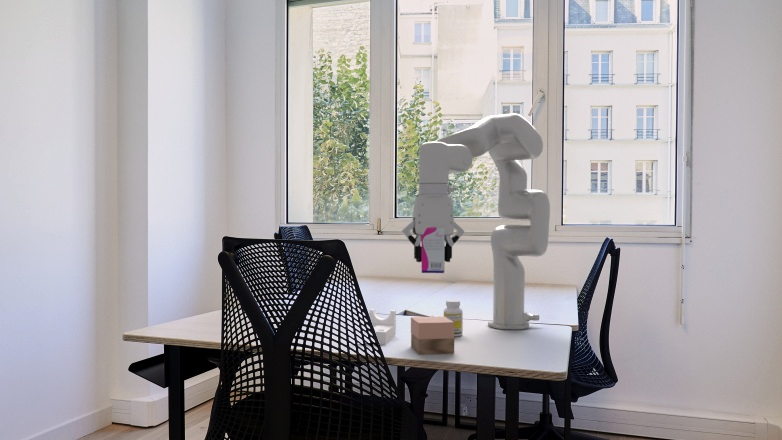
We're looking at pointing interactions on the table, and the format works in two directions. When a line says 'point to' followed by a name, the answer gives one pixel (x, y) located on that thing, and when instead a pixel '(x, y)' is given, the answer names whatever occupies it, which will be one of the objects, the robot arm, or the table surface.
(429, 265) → the supplement box
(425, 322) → the tower top
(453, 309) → the supplement bottle
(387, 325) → the bracket
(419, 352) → the tower bottom
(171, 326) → the table surface
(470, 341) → the table surface
